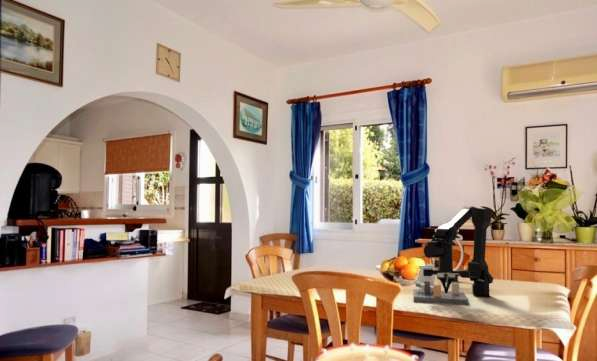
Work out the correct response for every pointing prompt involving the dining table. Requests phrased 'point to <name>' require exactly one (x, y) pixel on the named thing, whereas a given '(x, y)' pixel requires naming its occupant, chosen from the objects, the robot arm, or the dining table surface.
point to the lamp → (460, 258)
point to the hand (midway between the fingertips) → (446, 293)
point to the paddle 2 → (455, 287)
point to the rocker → (423, 285)
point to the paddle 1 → (437, 290)
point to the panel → (445, 298)
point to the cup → (426, 278)
